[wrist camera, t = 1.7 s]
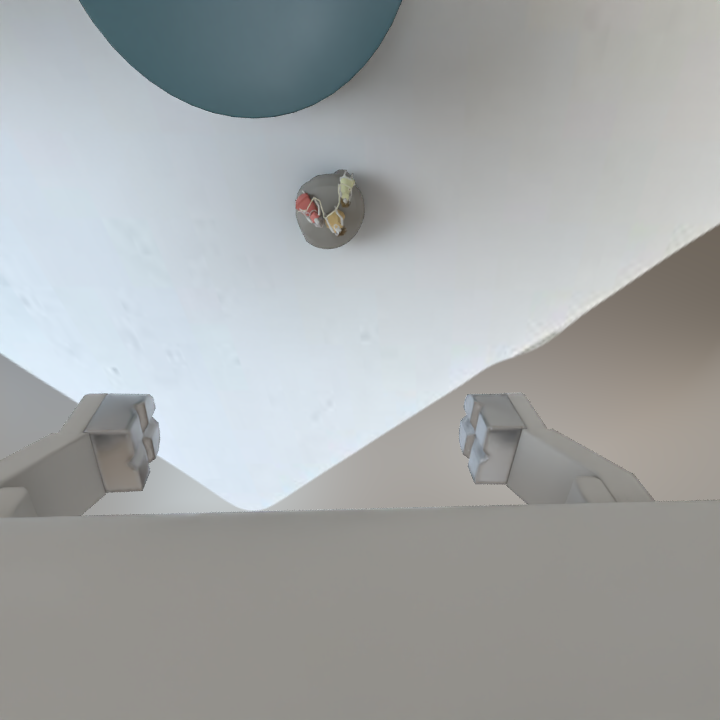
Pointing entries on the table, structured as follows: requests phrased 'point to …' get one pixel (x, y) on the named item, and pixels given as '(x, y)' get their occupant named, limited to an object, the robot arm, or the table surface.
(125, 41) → the pot lid
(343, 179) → the figurine
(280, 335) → the table surface
